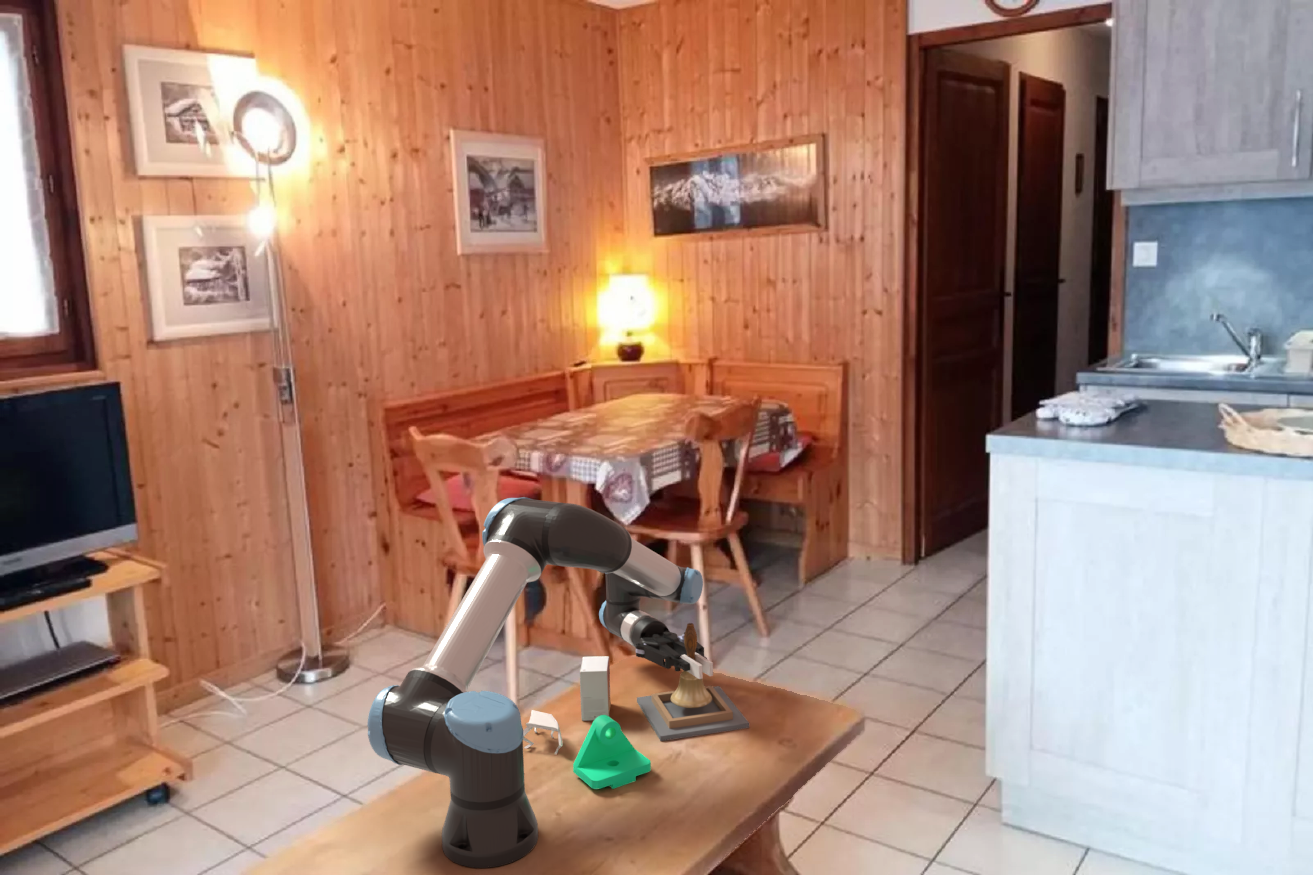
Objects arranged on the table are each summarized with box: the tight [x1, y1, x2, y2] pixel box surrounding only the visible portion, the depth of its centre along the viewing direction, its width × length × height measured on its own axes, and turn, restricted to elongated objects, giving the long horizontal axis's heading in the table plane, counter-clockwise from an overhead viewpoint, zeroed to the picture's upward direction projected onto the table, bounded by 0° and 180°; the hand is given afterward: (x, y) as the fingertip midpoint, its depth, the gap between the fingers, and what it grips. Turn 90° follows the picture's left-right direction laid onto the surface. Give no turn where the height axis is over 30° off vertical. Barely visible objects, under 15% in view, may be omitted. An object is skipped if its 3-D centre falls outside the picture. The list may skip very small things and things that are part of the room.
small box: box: [579, 655, 611, 722], centre depth 209 cm, size 8×6×10 cm
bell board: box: [636, 685, 750, 742], centre depth 208 cm, size 18×18×2 cm
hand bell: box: [671, 622, 712, 708], centre depth 206 cm, size 8×8×16 cm
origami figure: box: [523, 709, 564, 755], centre depth 196 cm, size 12×8×5 cm
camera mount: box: [572, 715, 652, 790], centre depth 184 cm, size 12×8×10 cm, turn 123°
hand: (706, 670), depth 201 cm, fingers closed on hand bell, 2 cm apart
